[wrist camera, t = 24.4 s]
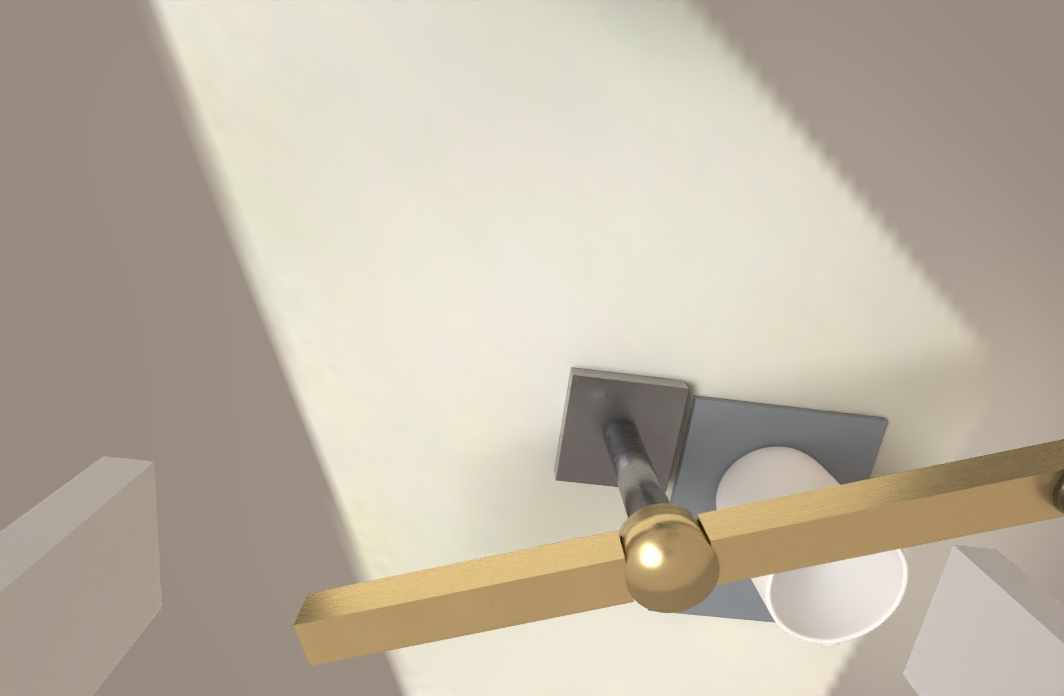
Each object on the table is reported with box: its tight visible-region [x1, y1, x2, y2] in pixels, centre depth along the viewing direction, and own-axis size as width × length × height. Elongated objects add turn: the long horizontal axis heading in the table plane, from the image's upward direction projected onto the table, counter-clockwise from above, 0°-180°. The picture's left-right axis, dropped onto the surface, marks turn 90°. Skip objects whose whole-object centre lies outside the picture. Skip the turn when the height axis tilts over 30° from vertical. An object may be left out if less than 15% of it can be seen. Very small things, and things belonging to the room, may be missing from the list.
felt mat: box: [648, 396, 888, 622], centre depth 46 cm, size 18×14×1 cm
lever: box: [293, 439, 1064, 666], centre depth 29 cm, size 38×4×3 cm, turn 102°
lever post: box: [555, 368, 689, 518], centre depth 38 cm, size 8×8×14 cm
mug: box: [716, 446, 908, 648], centre depth 41 cm, size 12×8×10 cm
